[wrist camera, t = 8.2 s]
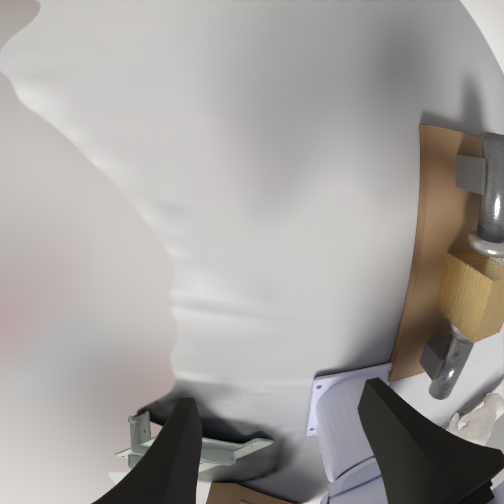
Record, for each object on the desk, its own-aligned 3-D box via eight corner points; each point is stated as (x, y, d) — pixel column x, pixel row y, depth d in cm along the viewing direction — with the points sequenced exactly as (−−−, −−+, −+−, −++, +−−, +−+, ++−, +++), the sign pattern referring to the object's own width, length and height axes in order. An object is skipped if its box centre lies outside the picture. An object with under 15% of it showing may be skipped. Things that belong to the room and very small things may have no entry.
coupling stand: (451, 355, 23) (478, 387, 18) (385, 375, 23) (409, 418, 17) (492, 142, 16) (540, 148, 10) (419, 124, 15) (476, 123, 10)
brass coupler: (446, 251, 18) (493, 281, 12) (474, 248, 18) (518, 274, 13) (434, 306, 19) (472, 343, 14) (462, 300, 19) (499, 331, 14)
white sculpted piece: (464, 460, 21) (521, 405, 20) (438, 425, 29) (492, 376, 28) (461, 470, 23) (513, 420, 22) (438, 438, 31) (488, 394, 30)
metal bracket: (100, 469, 20) (179, 441, 17) (100, 427, 25) (172, 381, 22) (196, 485, 28) (284, 455, 25) (190, 451, 32) (270, 413, 29)
